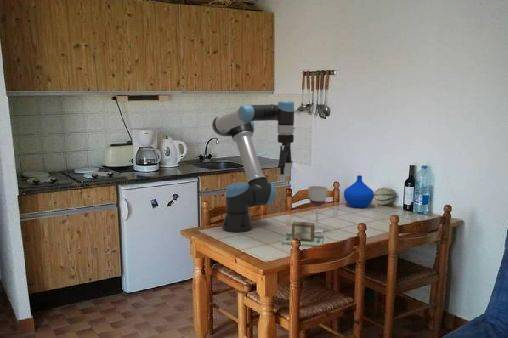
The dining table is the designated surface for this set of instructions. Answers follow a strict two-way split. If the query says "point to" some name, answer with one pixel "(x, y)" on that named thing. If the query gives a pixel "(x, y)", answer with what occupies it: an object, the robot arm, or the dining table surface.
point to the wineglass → (317, 200)
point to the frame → (303, 231)
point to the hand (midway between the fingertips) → (285, 178)
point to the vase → (358, 194)
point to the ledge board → (317, 241)
